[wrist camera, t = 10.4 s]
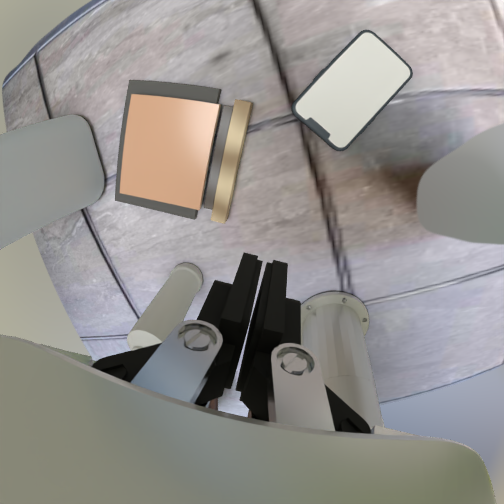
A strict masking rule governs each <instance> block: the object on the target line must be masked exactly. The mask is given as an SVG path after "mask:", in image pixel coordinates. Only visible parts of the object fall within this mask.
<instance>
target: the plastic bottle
mask: <svg viewBox="0 0 504 504" xmlns="http://www.w3.org/2000/svg"><path fill="white" fill-rule="evenodd" d="M103 189H104V173H103V170H102V166H101V163H100V160H99V157H98V153H97V150H96V146H95V143H94V139H93V136H92V132H91V129H90V126H89V124H88V123H87V121H86V120H85V119H84V118H82V117H81V116H78V115H66V116H62V117H58V118H54V119H50V120H46V121H42V122H39V123H35V124H32V125H28V126H25V127H22V128H18V129H15V130H12V131H9V132H6V133H3V134H1V135H0V249H2V248H4V247H6V246H7V245H9V244H11V243H13V242H15V241H17V240H19V239H21V238H22V237H24V236H26V235H28V234H30V233H32V232H34V231H36V230H38V229H40V228H42V227H44V226H46V225H48V224H50V223H52V222H54V221H57V220H59V219H61V218H63V217H65V216H67V215H69V214H72V213H74V212H76V211H78V210H80V209H83V208H85V207H87V206H90V205H92V204H94V203H95V202H96V201H97V200H98V199H99V198H100V196H101V194H102V192H103Z"/></svg>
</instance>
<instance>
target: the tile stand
mask: <svg viewBox="0 0 504 504" xmlns="http://www.w3.org/2000/svg"><path fill="white" fill-rule="evenodd" d="M252 106H253V103H251V102H247V101H242V100H236V99H235V103H234V107H231V106H226V105H224V107H223V111H222V116H221V121H220V125H219V130H218V135H217V140H216V145H215V150H214V155H213V160H212V165H211V170H210V176H209V181H208V187H207V192H206V198H205V204H204V208H207V209H211V210H212V209H213V210H212V216H211V220H212V221H216V222H220V223H224V224H225V222H226V220H227V219H228V215H229V210H230V205H231V200H232V196H233V191H234V186H235V182H236V177H237V172H238V168H239V163H240V159H241V154H242V150H243V145H244V141H245V136H246V132H247V128H248V123H249V119H250V115H251V110H252Z"/></svg>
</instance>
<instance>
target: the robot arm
mask: <svg viewBox="0 0 504 504" xmlns="http://www.w3.org/2000/svg"><path fill="white" fill-rule="evenodd" d="M257 258H258V256H256V255H252V254H248V253H244V254H243V256H242V259H241V262H240V265H239V268H238V271H237V273H236V276H235V279H234V282H233V284H229V283H225V282H221V281H217V280H215V281H214V283H213V285H212V287H211V289H210V292H209V294H208V296H207V298H206V300H205V303H204V305H203V307H202V309H201V311H200V314H199V316H198V318H197V320H187V321H184V322H181V323H179V324H178V325H177V326H176V327H175V328H174V329H173V330H172V331H171V332H170V334H169V335H168V336H167V337H166V339H165V340H164V341H163V342H162V343H159V344H155V345H151V346H147V347H144V348H140V349H136V350H132V351H128V352H124V353H120V354H116V355H112V356H108V357H105V358H102V359H99V360H98V361H94V360H92V357H91V356H87V355H82V354H78V353H73V352H69V351H65V350H61V349H57V348H53V347H50V346H46V345H43V344H37V343H34V342H32V341H28V340H25V339H21V338H17V337H12V336H6V335H0V504H496V500H495V495H494V491H493V487H492V483H491V480H490V477H489V474H488V471H487V469H486V466H485V464H484V462H483V460H482V458H481V457H480V455H479V454H478V453H477V452H476V451H474V450H473V449H471V448H470V447H468V446H466V445H464V444H461V443H458V442H455V441H452V440H447V439H442V438H436V437H426V436H418V435H414V434H409V433H405V432H401V431H397V430H393V429H388V428H385V426H384V423H383V419H382V415H381V411H380V406H379V401H378V396H377V392H376V387H375V382H374V377H373V372H372V368H371V363H370V359H369V354H368V350H367V346H366V342H365V338H364V336H365V334H366V332H367V330H368V327H369V315H368V311H367V309H366V307H365V305H364V304H363V303H362V301H360V300H359V299H358V298H357V297H355V296H353V295H351V294H348V293H344V292H326V293H321V294H318V295H316V296H313V297H312V298H310V299H308V300H307V301H305V302H304V303H303V304H302V305H301V303H300V301H297V300H293V299H289V298H286V286H287V267H288V263H284V262H280V261H276V260H273V263H268V262H267V264H266V268H265V271H264V275H263V279H262V282H261V286H260V290H259V293H258V297H257V301H256V304H255V308H254V311H253V315H252V319H251V323H250V327H249V331H248V336H247V341H246V345H245V350H244V354H243V359H242V364H241V368H240V373H239V377H238V382H237V386H236V391H240V392H241V396H240V401H242V402H243V403H244V404H245V405H246V406H247V407H248V409H249V412H248V417H243V416H239V415H234V414H230V413H226V412H222V411H218V410H214V409H210V408H208V407H209V403H210V401H211V400H214V399H216V398H218V397H221V396H222V395H223V391H224V388H228V389H231V386H232V383H233V379H234V376H235V372H236V369H237V365H238V362H239V358H240V355H241V351H242V348H243V344H244V340H245V337H246V333H247V330H248V326H249V322H250V317H251V313H252V308H253V303H254V299H255V294H256V290H257V285H258V280H259V276H260V271H261V266H262V262H263V261H260V260H257Z"/></svg>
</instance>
